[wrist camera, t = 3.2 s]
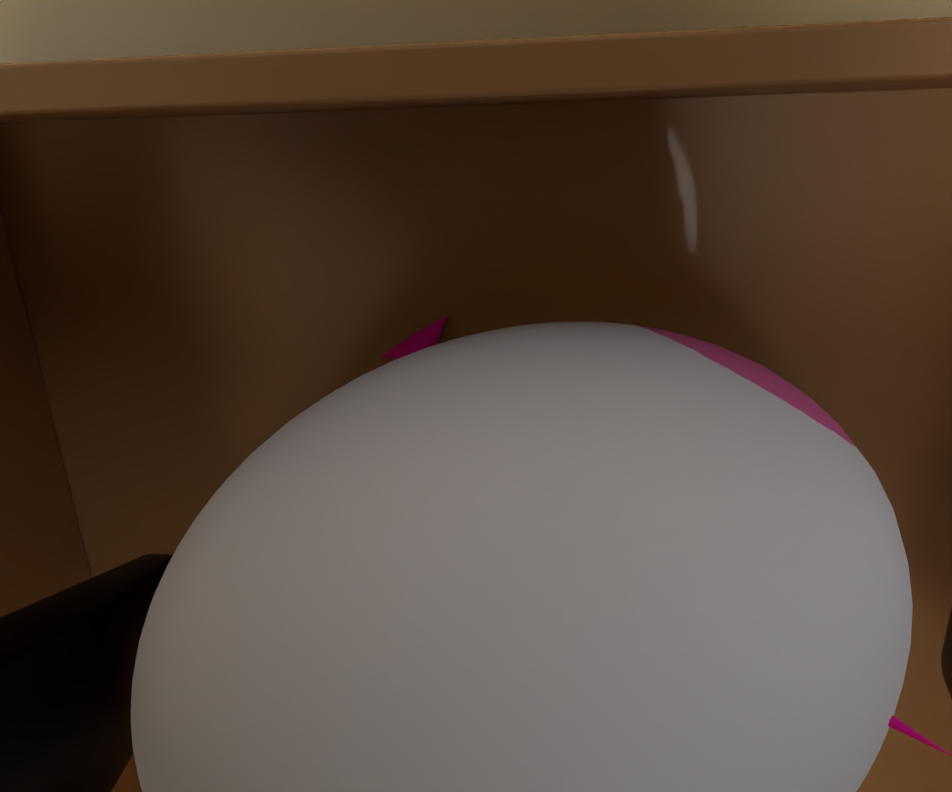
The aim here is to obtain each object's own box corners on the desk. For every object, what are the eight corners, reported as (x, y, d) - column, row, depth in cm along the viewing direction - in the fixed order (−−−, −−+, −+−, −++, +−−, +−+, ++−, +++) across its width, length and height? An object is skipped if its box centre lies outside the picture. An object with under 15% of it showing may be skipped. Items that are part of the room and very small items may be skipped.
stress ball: (434, 576, 15) (503, 1011, 11) (40, 388, 9) (-145, 1153, 5) (810, 391, 12) (1097, 869, 8) (583, -29, 7) (1147, 838, 2)
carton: (1278, 44, 8) (2246, -48, 3) (998, 963, 12) (1228, 1443, 8) (-29, 99, 10) (-556, 91, 5) (161, 869, 14) (-30, 1209, 10)
